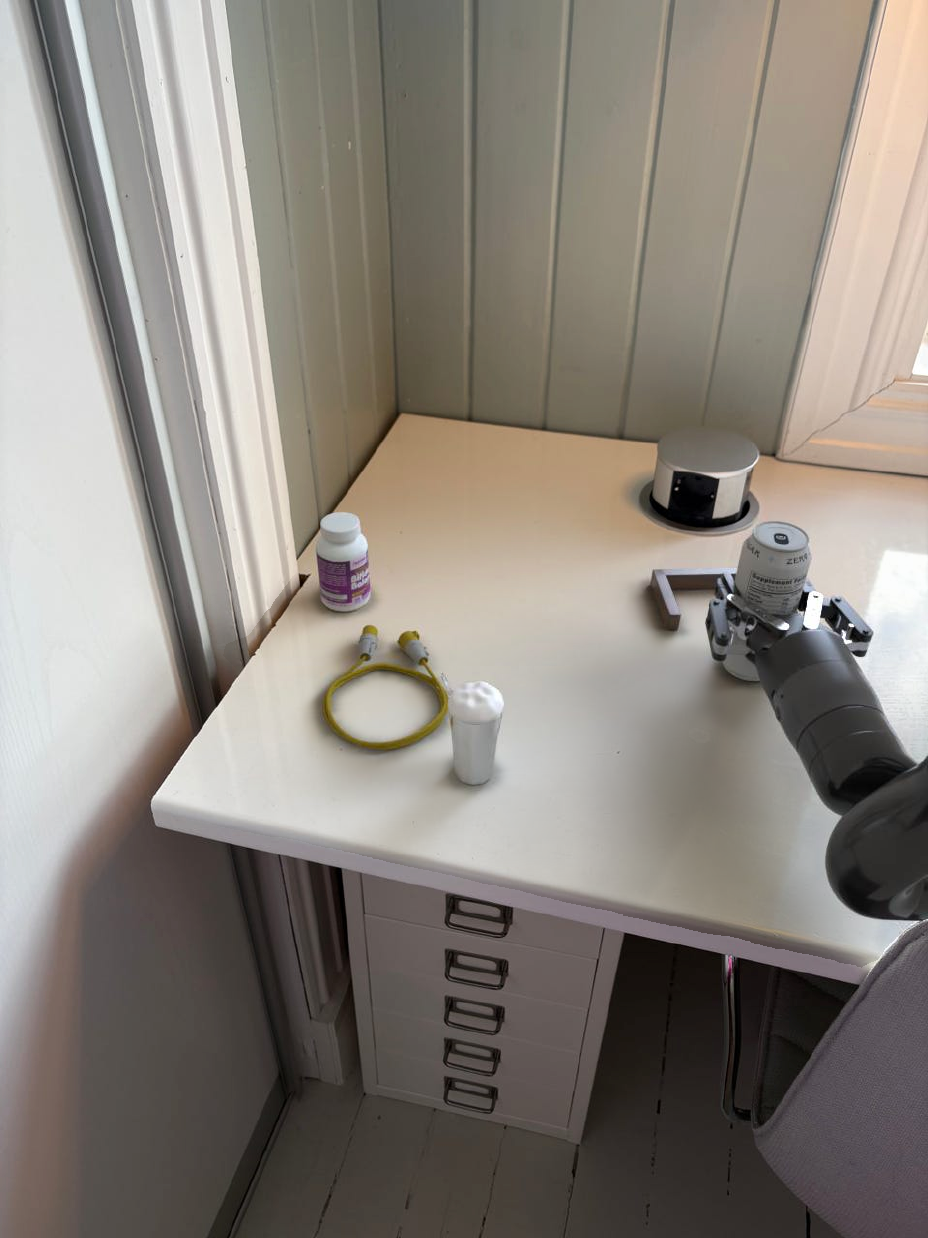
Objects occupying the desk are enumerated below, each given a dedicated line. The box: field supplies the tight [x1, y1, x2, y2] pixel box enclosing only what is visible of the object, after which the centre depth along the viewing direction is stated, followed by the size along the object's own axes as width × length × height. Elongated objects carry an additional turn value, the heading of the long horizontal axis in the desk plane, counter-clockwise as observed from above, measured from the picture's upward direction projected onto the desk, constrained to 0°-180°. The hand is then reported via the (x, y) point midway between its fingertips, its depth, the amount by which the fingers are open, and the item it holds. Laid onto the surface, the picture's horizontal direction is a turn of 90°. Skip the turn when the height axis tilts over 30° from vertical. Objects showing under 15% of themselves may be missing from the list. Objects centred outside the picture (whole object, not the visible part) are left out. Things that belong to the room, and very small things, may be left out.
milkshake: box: [440, 672, 505, 786], centre depth 77 cm, size 4×5×10 cm
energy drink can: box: [721, 520, 813, 682], centre depth 87 cm, size 6×6×15 cm
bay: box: [649, 567, 799, 631], centre depth 99 cm, size 8×13×2 cm, turn 93°
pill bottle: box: [315, 511, 371, 613], centre depth 97 cm, size 5×5×10 cm
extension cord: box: [322, 624, 449, 751], centre depth 87 cm, size 12×16×2 cm
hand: (757, 580), depth 88 cm, fingers closed on energy drink can, 6 cm apart
